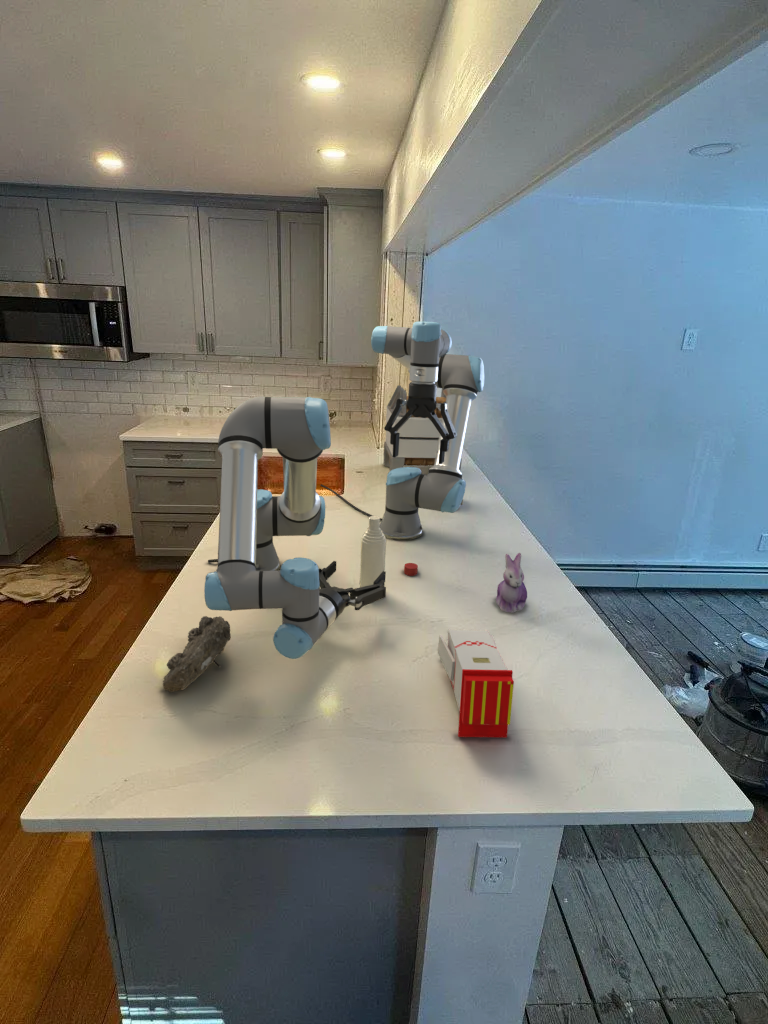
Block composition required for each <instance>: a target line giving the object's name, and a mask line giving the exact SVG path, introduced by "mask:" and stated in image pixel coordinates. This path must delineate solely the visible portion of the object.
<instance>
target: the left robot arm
mask: <svg viewBox="0 0 768 1024" xmlns="http://www.w3.org/2000/svg"><path fill="white" fill-rule="evenodd" d="M331 436H332V435H331V425H330V414H329V407H328V403H327V401H326V400H325V399H323V398H319V397H311V396H305V397H304V396H303V397H302V396H301V397H299V396H254V397H250V398H249V399H246V400H244V401H243V402H241V403H240V404H238V406H236V407H235V408H234V409H233V410H232V412H231V413H230V414H229V415H228V416H227V418H226V420H225V421H224V423H223V425H222V427H221V430H220V433H219V435H218V441H217V454H218V456H219V457H220V458H221V479H220V497H219V499H220V501H219V502H220V503H219V522H218V543H217V544H218V545H217V558H214V559H212V558H211V559H208V560H207V563H208V564H211V563H217V567H216V571H215V570H214V571H213V572H211V571H210V572H208V573H207V574H206V575H205V579H204V580H205V581H204V592H203V593H204V602H205V605H206V607H207V609H208V610H211V611H229V612H232V611H245V610H277V609H281V622H282V623H281V624H280V625H279V626H278V627H277V629H276V630H275V632H274V634H273V637H272V640H273V641H272V642H273V646H274V648H275V649H276V651H277V652H278V653H279V654H280V655H281V656H283V657H284V658H287V659H290V660H298V659H300V658H302V657H304V655H305V654H306V653H308V652H309V651H311V649H313V647H314V646H315V644H316V643H317V642H318V641H319V640H320V638H321V637H322V636H323V635H324V633H326V632H327V630H328V629H329V628H330V627H331V626H332V625H333V623H334V622H335V621H336V620H337V619H338V618H339V617H340V615H342V613H343V611H344V610H345V608H347V607H349V606H351V607H354V610H355V611H360V610H361V609H362V608H363V607H366V606H368V605H371V604H373V603H375V602H377V601H380V600H383V599H385V598H386V596H387V586H385V583H386V576H387V571H386V570H385V571H383V572H382V573H381V574H380V575H379V576H378V577H377V579H376V580H375V581H374V582H373V585H369V586H364V587H360V586H359V587H356V588H353V587H346V588H343V587H338V586H331V584H330V583H329V582H328V581H327V580H328V579H329V578H331V576H332V575H334V574H335V573H336V572H337V560H333V561H332V562H331V563H330V564H328V566H326V567H323V568H319V566H318V564H317V563H316V562H315V561H314V560H313V559H310V558H307V557H294V558H288V559H286V560H285V561H283V562H282V563H281V566H280V562H281V561H280V558H279V556H278V552H277V550H276V547H275V545H274V539H273V538H274V537H299V536H305V537H311V536H319V535H320V534H322V532H323V530H324V527H325V520H326V500H325V497H323V496H321V495H319V493H318V492H317V474H318V473H317V472H318V458H319V457H320V456H321V455H322V453H323V451H325V450H329V449H330V448H331V445H332V439H331V438H332V437H331ZM264 449H267V450H269V449H270V450H273V449H275V450H276V451H277V453H278V454H279V455H280V457H282V475H283V492H282V493H281V495H277V496H276V495H275V496H274V495H273V494H272V492H271V491H270V490H268V489H262V488H261V489H258V479H259V478H258V475H259V474H258V473H259V472H258V471H259V470H258V469H259V468H258V467H259V466H258V465H259V460H260V459H261V458H262V457H263V452H264V451H263V450H264ZM279 569H280V570H279Z"/></svg>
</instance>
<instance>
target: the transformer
mask: <svg viewBox="0 0 768 1024" xmlns="http://www.w3.org/2000/svg"><path fill="white" fill-rule="evenodd" d="M443 389H444V388H441V392H440V393H441V394H440V396H436V402H437V403H444V402H446V396H445V395H444V393H443ZM407 394H408V393H407V390H406V389H404V388H403V387H402V385H399V384H398V385H397V386H396V388H395V390H394V392H393V394H392V395H391V398H390V400H389V402H388V404H387V405H386V413H385V414H386V415H385V423H386V424H387V422H388V420H389V418H390V416H391V415H392V413H393V411H394V409H395V407H396V402H397V399H399V398H403V399H405V400H408V395H407ZM408 411H409V408H408V407H407V405H406V404H405V406H404V407H402V409H401V411H400V413H399V415H398V417H397V419H396V420H395V422H394V424H393V426H392V427H394V426H395V425H396V424H397V423H398V422H399V421H400V420H401V418H402V417H403V416H404V415H405V414H406V413H407V412H408ZM434 412H435V413H436V415H437V418H438V419H439V420H440V422H441V423H442V419H443V418H442V415H441V411H439V409H438V408H436V409H435V410H434ZM396 433H400V435H399V454H398V456H396V457H393V445H391V444H390V436H391V434H390V432H389V431H386V430H385V438H384V442H383V466H384V467H388V468H389V472H390V471H391V470H393V469H397V468H402V467H405V466H406V467H417V466H418V467H432V466H434V463H435V457H436V452H437V446H438V441H439V435H440V433H439V432H438V430H437V429H436V427H435V426H434V424H433V423H432V421H431V420H429V418H428V417H427V418H422V417H414V416H413V415H412V416H411V417H410V418H409V419H408V420H407V421H406V422H405V423H404V424H403V426H402V427H401V428H400V429H399V430H398V431H397V432H396ZM462 461H463V460H462V457H461V461H460V466H459V470H460V472H461V473H462Z"/></svg>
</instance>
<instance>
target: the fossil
mask: <svg viewBox="0 0 768 1024" xmlns="http://www.w3.org/2000/svg"><path fill="white" fill-rule="evenodd" d="M231 632H232V631H231V625H230V623H229V621H227V620H225V618H223V616H221V615H219V616H213V617H211V616H210V617H209V616H207V615H203V616H202V617H201V618H200V621H199V622H198V627H193V628H191V629H190V630H189V631H188V633H187V634H188V635H187V638H188V639H187V641H188V643H186V645H185V646H184V649H183V651H182V652H176V654H174V655H173V656H172V657H170V658H169V660H168V662H167V663H166V667H167V668H168V670H169V671H168V672H167V673H166V675H164V676H163V680H162V686H163V690H164V691H168V692H170V693H172V692H178V691H183V690H186V688H188V686H189V685H191V684H192V683H193V682H195V681H196V680H197V678H198V677H200V676H201V675H202V674H203V673H205V672H206V671H207V669H208V667H209V665H211V664H212V663H214V664H215V665H216V666H217V667H218V668H220V667H221V664H219V662H218V661H217V660H216V658H217V657H218V656H219V655H221V654H222V653H223V652H224V650H225V647H226V646H227V644H228V642H229V641H230V640H231V639H232V637H231V636H232V635H231Z"/></svg>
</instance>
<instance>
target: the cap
mask: <svg viewBox="0 0 768 1024" xmlns="http://www.w3.org/2000/svg"><path fill="white" fill-rule="evenodd" d="M403 565H404V566H403V574H404V575H405V576H409V577H414V576H417V575H418V571H419V565H418V564H417V563H414V562H407V563H405V564H403Z"/></svg>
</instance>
